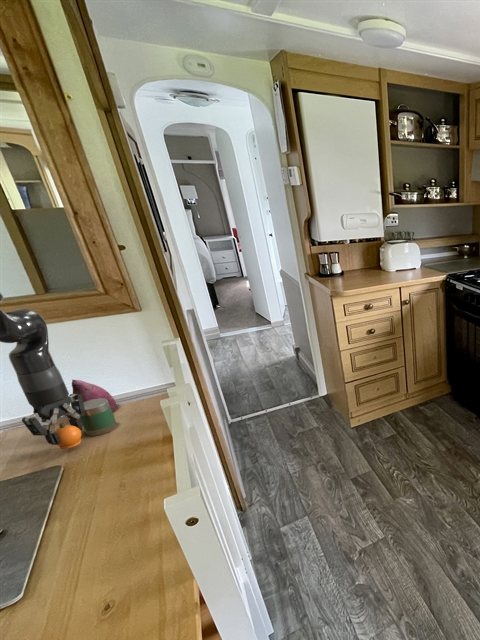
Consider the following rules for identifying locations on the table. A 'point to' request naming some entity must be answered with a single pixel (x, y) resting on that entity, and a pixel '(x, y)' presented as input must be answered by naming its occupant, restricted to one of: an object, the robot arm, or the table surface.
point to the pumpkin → (68, 436)
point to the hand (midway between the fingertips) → (67, 436)
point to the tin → (97, 417)
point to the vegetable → (92, 392)
